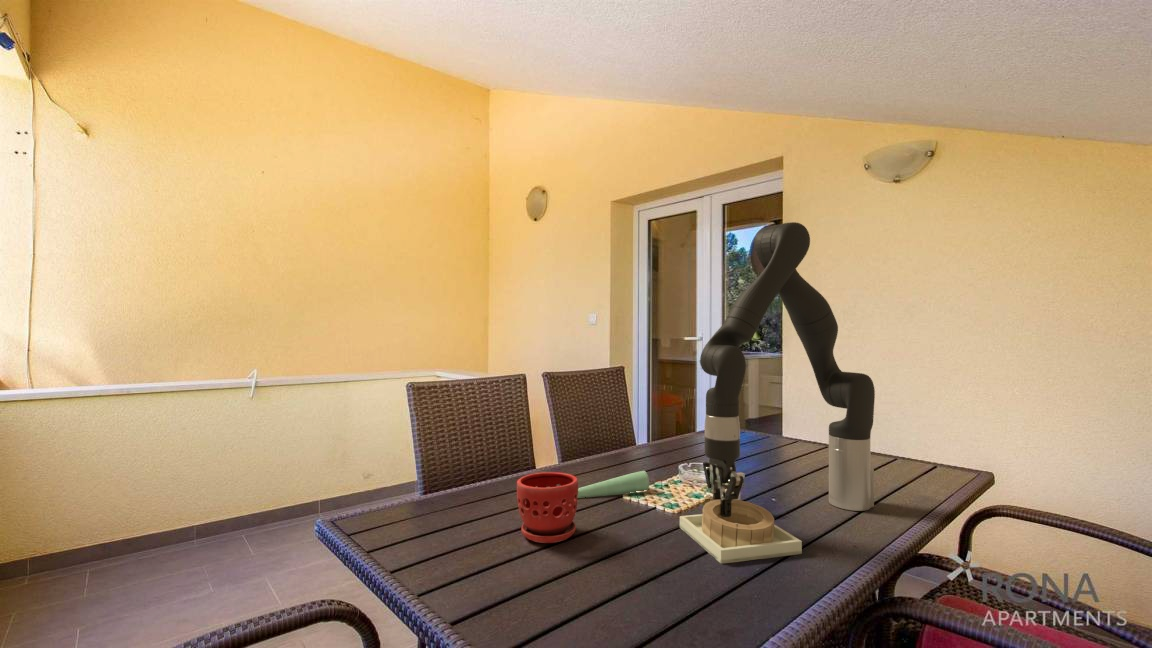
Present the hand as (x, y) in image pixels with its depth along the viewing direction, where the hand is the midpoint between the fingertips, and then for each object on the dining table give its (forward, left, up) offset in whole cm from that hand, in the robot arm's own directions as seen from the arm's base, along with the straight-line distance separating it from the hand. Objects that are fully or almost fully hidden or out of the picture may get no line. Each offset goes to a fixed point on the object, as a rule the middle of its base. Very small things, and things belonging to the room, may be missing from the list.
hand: (722, 513), depth 111 cm
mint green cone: (+20, -28, -4) cm, 35 cm away
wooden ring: (0, +6, -2) cm, 6 cm away
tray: (0, +6, -3) cm, 7 cm away
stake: (-9, -9, -3) cm, 13 cm away
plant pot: (+38, -6, -4) cm, 39 cm away
